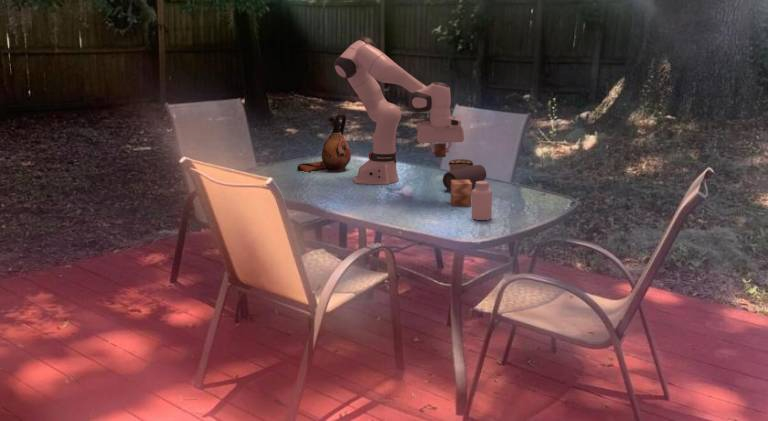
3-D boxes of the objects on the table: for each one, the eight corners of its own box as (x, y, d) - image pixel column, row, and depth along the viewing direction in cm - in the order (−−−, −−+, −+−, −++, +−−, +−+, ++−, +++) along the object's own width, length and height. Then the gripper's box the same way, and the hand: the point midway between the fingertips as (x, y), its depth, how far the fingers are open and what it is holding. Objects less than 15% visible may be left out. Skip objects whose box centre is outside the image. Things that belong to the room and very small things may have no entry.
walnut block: (435, 157, 295) (435, 145, 293) (434, 155, 299) (434, 143, 298) (445, 157, 295) (445, 145, 293) (445, 154, 299) (445, 143, 298)
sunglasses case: (305, 173, 355) (301, 161, 356) (299, 177, 361) (295, 166, 362) (334, 168, 366) (330, 156, 367) (327, 173, 372) (323, 161, 373)
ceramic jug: (336, 174, 351) (335, 116, 343) (316, 170, 361) (314, 114, 353) (359, 169, 364) (358, 113, 355) (339, 165, 373) (337, 110, 365)
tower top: (453, 195, 290) (453, 184, 289) (450, 190, 298) (450, 179, 296) (471, 195, 290) (472, 183, 289) (468, 190, 298) (469, 179, 297)
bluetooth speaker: (471, 182, 334) (472, 162, 331) (487, 185, 327) (487, 165, 325) (441, 190, 319) (441, 169, 316) (456, 194, 312) (457, 172, 309)
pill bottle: (469, 216, 277) (470, 180, 273) (488, 215, 278) (490, 179, 274) (473, 221, 270) (474, 184, 266) (493, 221, 270) (494, 184, 266)
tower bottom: (452, 206, 292) (452, 195, 290) (450, 201, 299) (450, 190, 298) (471, 206, 291) (471, 195, 290) (468, 201, 299) (469, 190, 298)
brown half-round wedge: (472, 178, 341) (473, 159, 338) (473, 181, 335) (473, 161, 332) (448, 178, 342) (448, 158, 339) (447, 181, 336) (448, 161, 333)
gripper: (416, 122, 290) (416, 154, 294) (464, 121, 289) (464, 153, 293) (416, 120, 296) (416, 151, 300) (463, 119, 295) (462, 150, 299)
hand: (440, 152), depth 296 cm, fingers closed on walnut block, 4 cm apart
